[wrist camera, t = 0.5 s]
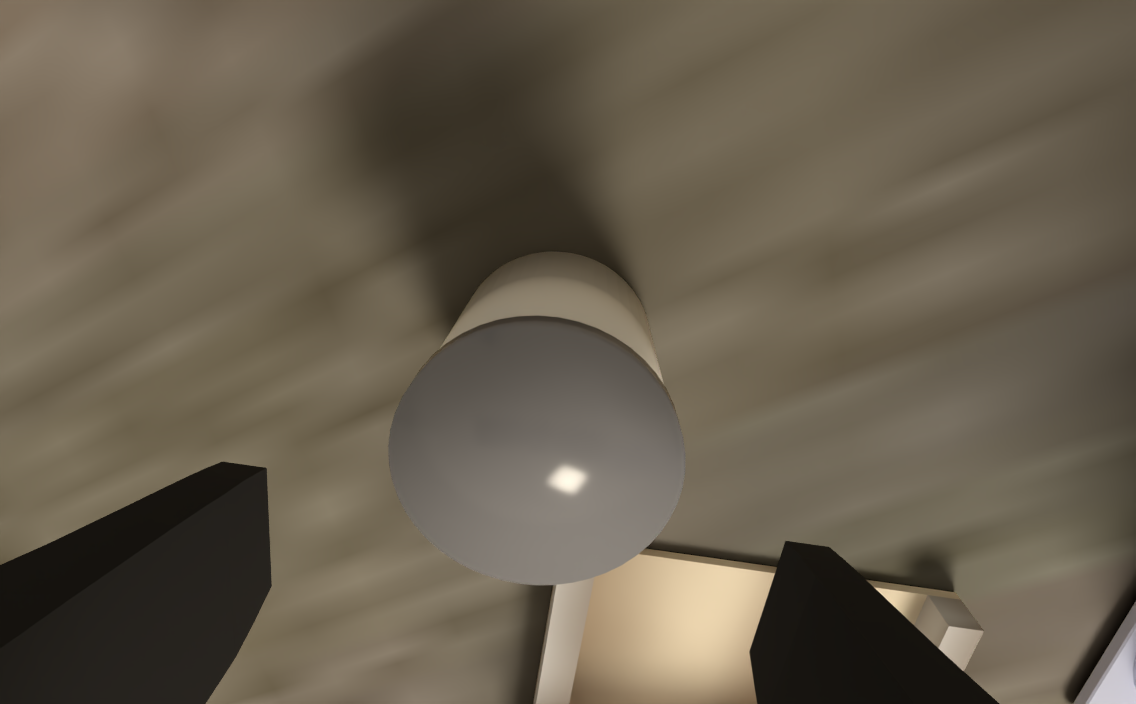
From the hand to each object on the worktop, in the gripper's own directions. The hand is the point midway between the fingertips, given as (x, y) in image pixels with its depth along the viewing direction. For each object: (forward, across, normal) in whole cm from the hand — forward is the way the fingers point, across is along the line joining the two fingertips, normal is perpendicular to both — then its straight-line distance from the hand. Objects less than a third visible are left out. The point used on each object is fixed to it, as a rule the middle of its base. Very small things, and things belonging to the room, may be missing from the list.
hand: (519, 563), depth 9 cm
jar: (+8, 0, 0) cm, 8 cm away
